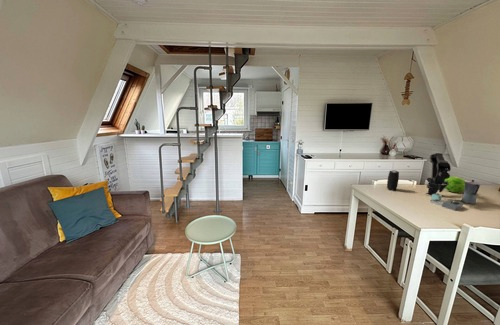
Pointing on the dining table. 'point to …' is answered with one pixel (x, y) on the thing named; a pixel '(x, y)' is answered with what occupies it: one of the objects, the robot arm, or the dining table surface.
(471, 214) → the dining table surface
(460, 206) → the square frame
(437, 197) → the mint block with knob
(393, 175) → the portable speaker
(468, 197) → the moka pot
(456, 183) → the lettuce
